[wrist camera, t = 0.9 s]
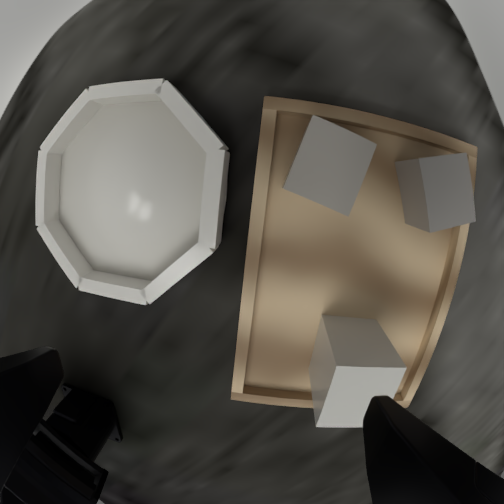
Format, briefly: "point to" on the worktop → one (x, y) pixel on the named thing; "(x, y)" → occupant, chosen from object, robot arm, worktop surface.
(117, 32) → the worktop surface
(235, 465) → the worktop surface
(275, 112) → the tray
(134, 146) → the bowl
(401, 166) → the grey piece
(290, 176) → the grey cubic piece
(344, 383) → the grey rectangular block
